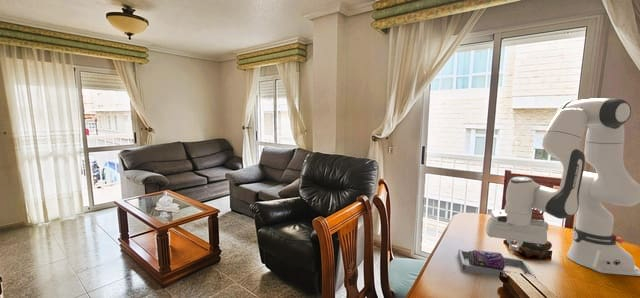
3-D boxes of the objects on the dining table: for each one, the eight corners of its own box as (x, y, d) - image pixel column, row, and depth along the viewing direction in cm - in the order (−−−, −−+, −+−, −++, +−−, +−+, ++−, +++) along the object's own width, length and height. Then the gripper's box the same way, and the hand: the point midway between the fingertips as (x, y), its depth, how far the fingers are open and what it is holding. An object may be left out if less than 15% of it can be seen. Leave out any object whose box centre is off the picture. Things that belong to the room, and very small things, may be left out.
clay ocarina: (556, 262, 117) (557, 245, 116) (515, 259, 122) (516, 243, 120) (545, 250, 126) (546, 234, 125) (507, 248, 131) (508, 232, 129)
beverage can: (507, 265, 106) (474, 260, 109) (503, 275, 110) (470, 271, 113) (502, 249, 112) (470, 246, 115) (497, 259, 116) (467, 256, 119)
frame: (523, 265, 115) (523, 259, 115) (535, 283, 103) (536, 277, 103) (458, 254, 124) (458, 249, 123) (462, 270, 112) (462, 264, 111)
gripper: (545, 218, 107) (541, 250, 109) (486, 211, 114) (483, 242, 116) (552, 224, 101) (548, 258, 103) (490, 216, 108) (487, 248, 110)
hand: (513, 249), depth 110 cm, fingers closed
